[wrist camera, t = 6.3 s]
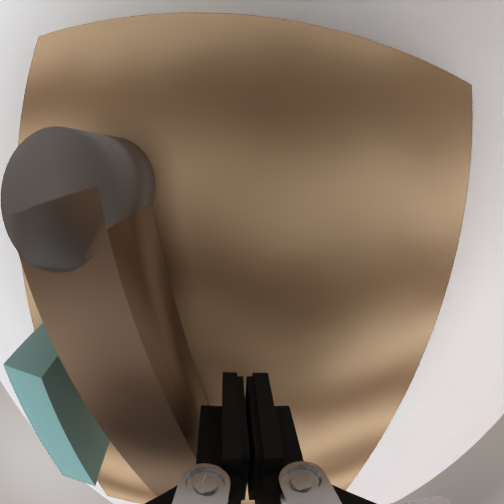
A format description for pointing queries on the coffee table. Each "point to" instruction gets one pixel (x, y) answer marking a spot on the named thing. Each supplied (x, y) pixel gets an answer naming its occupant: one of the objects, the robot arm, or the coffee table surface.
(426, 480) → the coffee table surface
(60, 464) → the stop block
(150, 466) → the folding leg
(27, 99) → the stool top
